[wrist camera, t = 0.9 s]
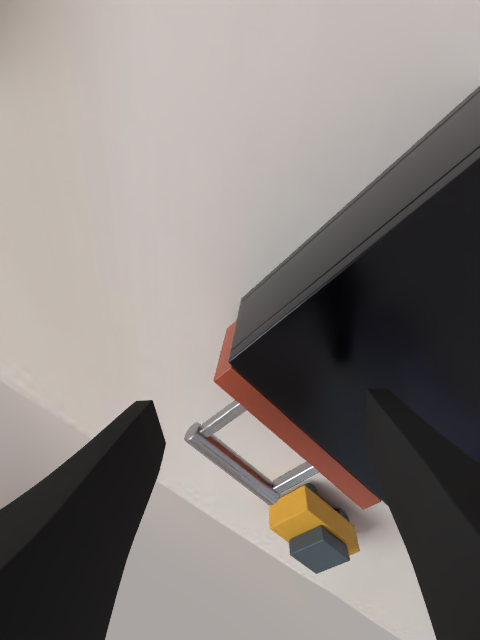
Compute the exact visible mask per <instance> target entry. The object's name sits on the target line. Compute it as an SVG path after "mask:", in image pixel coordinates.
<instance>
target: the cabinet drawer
mask: <svg viewBox="0 0 480 640" xmlns="http://www.w3.org/2000/svg"><path fill="white" fill-rule="evenodd" d="M236 322H237V321H235V322H234V323H233V324H232V325H231V326H230V327H228V328H227V331H226V335H225V338H224V342H223V346H222V350H221V354H220V358H219V361H218V365H217V369H216V373H215V377H214V382H215V383H216V384H217V385H219V386H220V387H221V388H222V389H223V390H224V391H226V392H227V393H228V394H229V395H230V396H231V397H233V398H234V399H235V401H233V402H232V403H231V404H229V405H228V406H226V407H225V408H224V409H222V410H221V411H220V412H218V413H217V414H216V415H214V416H213V417H212V418H210V419H209V420H207V421H206V422H205V423H203V424H202V425H201V424H199V423H194V424H193V425H192V426H191V427H190V428H189V429H188V431H187V433H186V435H185V438H184V440H185V441H186V442H187V443H188V444H190V445H191V446H192V447H194V448H195V449H196V450H197V451H199V452H200V453H201V454H203V455H204V456H205V457H207V458H208V459H209V460H211V461H212V462H213V463H214V464H216V465H217V466H218V467H220V468H221V469H222V470H224V471H225V472H226V473H228V474H229V475H230V476H232V477H233V478H234V479H235V480H237V481H238V482H239V483H241V484H242V485H243V486H245V487H246V488H247V489H249V490H250V491H251V492H252V493H254V494H255V495H256V496H258V497H259V498H260V499H262V500H263V501H264V502H266V503H267V504H268V505H273V504H275V503H276V502H277V501H278V499H279V497H280V493H281V492H283V491H285V490H287V489H289V488H291V487H293V486H294V485H296V484H298V483H300V482H302V481H304V480H305V479H307V478H309V477H311V476H313V475H315V474H316V473H318V472H320V473H321V474H322V475H323V476H325V477H326V478H327V479H328V480H329V481H330V482H331V483H333V484H334V485H335V486H336V487H337V488H338V489H340V490H341V491H342V492H343V493H344V494H345V495H347V496H348V497H349V498H350V499H351V500H352V501H354V502H355V503H356V504H357V505H358V506H359V507H361V508H362V509H366V508H368V507H370V506H372V505H375V504H377V503H379V502H381V499H380V498H379V497H378V496H377V495H376V494H375V493H373V492H372V491H371V490H370V489H369V488H368V487H367V486H366V485H364V484H363V483H362V482H361V481H360V480H359V479H358V478H357V477H356V476H354V475H353V474H352V473H351V472H350V471H349V470H348V469H347V468H346V467H344V466H343V465H342V464H341V463H340V462H339V461H338V460H337V459H335V458H334V457H333V456H332V455H331V454H330V453H329V452H328V451H327V450H325V449H324V448H323V447H322V446H321V445H320V444H319V443H318V442H317V441H315V440H314V439H313V438H312V437H311V436H310V435H309V434H308V433H306V432H305V431H304V430H303V429H302V428H301V427H300V426H299V425H298V424H296V423H295V422H294V421H293V420H292V419H291V418H290V417H289V416H288V415H286V414H285V413H284V412H283V411H282V410H281V409H280V408H279V407H277V406H276V405H275V404H274V403H273V402H272V401H271V400H270V399H269V398H267V397H266V396H265V395H264V394H263V393H262V392H261V391H260V390H258V389H257V388H256V387H255V386H254V385H253V384H252V383H251V382H250V381H248V380H247V379H246V378H245V377H244V376H243V375H242V374H241V373H240V372H238V371H237V370H236V369H235V368H234V367H233V366H232V365H231V364H229V362H228V360H229V355H230V352H231V346H232V341H233V337H234V332H235V327H236ZM246 410H248V411H249V412H250V413H251V414H252V415H254V416H255V417H256V418H257V419H258V420H259V421H260V422H262V423H263V424H264V425H265V426H266V427H267V428H269V429H270V430H271V431H272V432H273V433H274V434H276V435H277V436H278V437H279V438H280V439H281V440H283V441H284V442H285V443H286V444H287V445H288V446H290V447H291V448H292V449H293V450H294V451H295V452H297V453H298V454H299V455H300V456H301V457H302V458H304V459H305V460H306V462H305V463H303V464H301V465H299V466H298V467H296V468H294V469H292V470H291V471H289V472H287V473H285V474H284V475H282V476H280V477H278V478H277V479H275V480H273V482H272V481H271V480H270V479H268V478H267V477H266V476H265V475H263V474H262V473H261V472H260V471H258V470H257V469H256V468H255V467H253V466H252V465H251V464H250V463H248V462H247V461H246V460H245V459H243V458H242V457H241V456H240V455H238V454H237V453H236V452H235V451H233V450H232V449H231V448H230V447H228V446H227V445H226V444H225V443H223V442H222V441H221V440H220V439H218V438H217V437H216V436H214V435H213V434H214V433H215V432H217V431H218V430H219V429H221V428H222V427H224V426H225V425H226V424H228V423H229V422H231V421H232V420H234V419H235V418H236V417H238V416H239V415H241V414H242V413H243V412H245V411H246Z"/></svg>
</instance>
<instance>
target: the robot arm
mask: <svg viewBox="0 0 480 640" xmlns="http://www.w3.org/2000/svg"><path fill="white" fill-rule="evenodd" d="M364 439H365V443H366V446H367V450H368V453H369V457H370V460H371V463H372V467H373V470H374V472H375V474H376V477H377V479H378V482H379V484H380V487H381V489H382V491H383V494H384V496H385V499H386V501H387V503H388V506H389V508H390V510H391V513H392V515H393V518H394V520H395V522H396V525H397V527H398V529H399V532H400V534H401V537H402V539H403V541H404V544H405V546H406V549H407V551H408V554H409V557H410V559H411V562H412V564H413V567H414V570H415V573H416V576H417V580H418V583H419V586H420V589H421V592H422V595H423V598H424V601H425V604H426V607H427V610H428V613H429V616H430V620H431V623H432V626H433V629H434V632H435V636H436V639H437V640H480V464H479V463H478V462H477V461H475V460H474V459H473V458H471V457H470V456H469V455H467V454H466V453H465V452H463V451H462V450H460V449H459V448H458V447H457V446H455V445H454V444H453V443H451V442H450V441H449V440H447V439H446V438H445V437H444V436H443V435H441V434H440V433H439V432H438V431H436V430H435V429H434V428H433V427H431V426H430V425H429V424H428V423H427V422H425V421H424V420H423V419H422V418H421V417H419V416H418V415H417V414H416V413H415V412H414V411H412V410H411V409H410V408H409V407H408V406H407V405H406V404H404V403H403V402H402V401H401V400H400V399H399V398H397V397H396V396H395V395H394V394H393V393H392V392H390V391H389V390H388V389H387V388H382V389H367V392H366V409H365V427H364ZM165 445H166V442H165V439H164V436H163V432H162V429H161V426H160V423H159V419H158V416H157V413H156V410H155V406H154V403H153V400H148V401H136V402H134V403H133V404H132V405H131V406H130V407H128V408H127V409H126V410H125V411H124V412H123V413H121V414H120V415H119V416H118V417H117V418H116V419H115V420H114V421H112V422H111V423H110V424H109V425H108V426H107V427H106V428H105V429H103V430H102V431H101V432H100V433H99V434H98V435H97V436H96V437H94V438H93V439H92V440H91V441H90V442H89V443H88V444H86V445H85V446H84V447H83V448H82V449H80V450H79V451H78V452H77V453H76V454H74V455H73V456H72V457H71V458H70V459H68V460H67V461H66V462H65V463H63V464H62V465H61V466H60V467H59V468H58V469H56V470H55V471H54V472H52V473H51V474H50V475H49V476H47V477H46V478H44V479H43V480H42V481H40V482H39V483H38V484H36V485H35V486H34V487H32V488H31V489H30V490H28V491H27V492H25V493H24V494H23V495H21V496H20V497H18V498H17V499H16V500H14V501H13V502H11V503H10V504H8V505H7V506H5V507H4V508H2V509H1V510H0V640H105V637H106V633H107V629H108V625H109V622H110V618H111V614H112V610H113V606H114V603H115V599H116V595H117V591H118V588H119V585H120V581H121V578H122V574H123V570H124V567H125V563H126V560H127V557H128V554H129V551H130V549H131V546H132V543H133V540H134V537H135V534H136V532H137V530H138V527H139V524H140V521H141V519H142V516H143V514H144V511H145V509H146V506H147V503H148V501H149V498H150V495H151V493H152V490H153V487H154V485H155V482H156V479H157V476H158V474H159V470H160V466H161V462H162V458H163V454H164V450H165Z"/></svg>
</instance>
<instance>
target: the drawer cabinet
mask: <svg viewBox="0 0 480 640" xmlns="http://www.w3.org/2000/svg"><path fill="white" fill-rule="evenodd" d="M228 362H229V364H231V365H232V366H233V367H234V368H235V369H236V370H237V371H238V372H240V373H241V374H242V375H243V376H244V377H245V378H246V379H247V380H248V381H250V382H251V383H252V384H253V385H254V386H255V387H256V388H257V389H258V390H260V391H261V392H262V393H263V394H264V395H265V396H266V397H267V398H269V399H270V400H271V401H272V402H273V403H274V404H275V405H276V406H277V407H279V408H280V409H281V410H282V411H283V412H284V413H285V414H286V415H288V416H289V417H290V418H291V419H292V420H293V421H294V422H295V423H296V424H298V425H299V426H300V427H301V428H302V429H303V430H304V431H305V432H306V433H308V434H309V435H310V436H311V437H312V438H313V439H314V440H315V441H317V442H318V443H319V444H320V445H321V446H322V447H323V448H324V449H325V450H327V451H328V452H329V453H330V454H331V455H332V456H333V457H334V458H335V459H337V460H338V461H339V462H340V463H341V464H342V465H343V466H344V467H346V468H347V469H348V470H349V471H350V472H351V473H352V474H353V475H354V476H356V477H357V478H358V479H359V480H360V481H361V482H362V483H363V484H364V485H366V486H367V487H368V488H369V489H370V490H371V491H372V492H373V493H375V494H376V495H377V496H378V497H379V498H380V499H381V500H382V501H383V502H385V503H386V504H387V505H388V503H387V501H386V499H385V496H384V494H383V491H382V489H381V487H380V484H379V482H378V479H377V477H376V474H375V472H374V470H373V467H372V463H371V460H370V457H369V453H368V450H367V446H366V443H365V439H364V427H365V409H366V392H367V389H382V388H387V389H388V390H389V391H390V392H392V393H393V394H394V395H395V396H396V397H397V398H399V399H400V400H401V401H402V402H403V403H404V404H406V405H407V406H408V407H409V408H410V409H411V410H412V411H414V412H415V413H416V414H417V415H418V416H419V417H421V418H422V419H423V420H424V421H425V422H427V423H428V424H429V425H430V426H431V427H433V428H434V429H435V430H436V431H438V432H439V433H440V434H441V435H443V436H444V437H445V438H446V439H447V440H449V441H450V442H451V443H453V444H454V445H455V446H457V447H458V448H459V449H460V450H462V451H463V452H465V453H466V454H467V455H469V456H470V457H471V458H473V459H474V460H475V461H477V462H478V463H479V464H480V86H479V87H478V88H477V89H476V90H475V91H474V92H473V93H471V94H470V95H469V96H468V97H467V98H466V99H465V100H464V101H463V102H461V103H460V104H459V105H458V106H457V107H456V108H455V109H454V110H452V111H451V112H450V113H449V114H448V115H447V116H446V117H445V118H443V119H442V120H441V121H440V122H439V123H438V124H437V125H436V126H435V127H433V128H432V129H431V130H430V131H429V132H428V133H427V134H426V135H424V136H423V137H422V138H421V139H420V140H419V141H418V142H417V143H415V144H414V145H413V146H412V147H411V148H410V149H409V150H408V151H406V152H405V153H404V154H403V155H402V156H401V157H400V158H399V159H398V160H396V161H395V162H394V163H393V164H392V165H391V166H390V167H389V168H387V169H386V170H385V171H384V172H383V173H382V174H381V175H380V176H378V177H377V178H376V179H375V180H374V181H373V182H372V183H371V184H369V185H368V186H367V187H366V188H365V189H364V190H363V191H362V192H361V193H359V194H358V195H357V196H356V197H355V198H354V199H353V200H352V201H350V202H349V203H348V204H347V205H346V206H345V207H344V208H343V209H341V210H340V211H339V212H338V213H337V214H336V215H335V216H334V217H332V218H331V219H330V220H329V221H328V222H327V223H326V224H325V225H324V226H322V227H321V228H320V229H319V230H318V231H317V232H316V233H315V234H313V235H312V236H311V237H310V238H309V239H308V240H307V241H306V242H304V243H303V244H302V245H301V246H300V247H299V248H298V249H297V250H295V251H294V252H293V253H292V254H291V255H290V256H289V257H288V258H287V259H285V260H284V261H283V262H282V263H281V264H280V265H279V266H278V267H276V268H275V269H274V270H273V271H272V272H271V273H270V274H269V275H267V276H266V277H265V278H264V279H263V280H262V281H261V282H260V283H259V284H257V285H256V286H255V287H254V288H253V289H252V290H251V291H250V292H248V293H247V294H246V295H245V296H244V297H243V298H242V299H241V304H240V308H239V312H238V317H237V322H236V327H235V332H234V337H233V341H232V346H231V352H230V355H229V360H228Z"/></svg>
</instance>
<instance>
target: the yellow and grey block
mask: <svg viewBox="0 0 480 640" xmlns="http://www.w3.org/2000/svg"><path fill="white" fill-rule="evenodd" d="M269 524H270V529H271V530H272V531H274V532H275V533H277V534H278V535H279V536H281V537H282V538H283V539H285V540H286V541H287V542H289V547H290V555H291V556H292V557H294V558H295V559H296V560H298V561H299V562H301V563H302V564H303V565H305V566H306V567H308V568H309V569H310V570H312V571H313V572H314V573H316V574H317V573H320V572H322V571H325V570H327V569H330V568H332V567H335V566H337V565H340V564H342V563H345V562H347V561H350V558H349V555H352V554H354V553H357V552H359V551H360V549H359V545H358V541H357V537H356V533H355V529H354V526H353V525H352V524H351V523H350V521H349V519H348V517H347V515H346V513H345V512H344V511H343V510H338V511H335V510H334V509H333V508H332V507H331V506H329V505H328V504H327V503H326V502H324V501H323V500H322V499H321V498H320V497H319V496H318V493H317V491H316V489H315V488H314V486H313V485H312V484H310V483H308V484H306V485H304V486H302V487H300V488H298V489H296V490H294V491H292V492H291V493H289V494H287V495H285V496H283V497H281V498H279V499H278V501H277V502H276V503H275V504H273V505H269Z"/></svg>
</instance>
